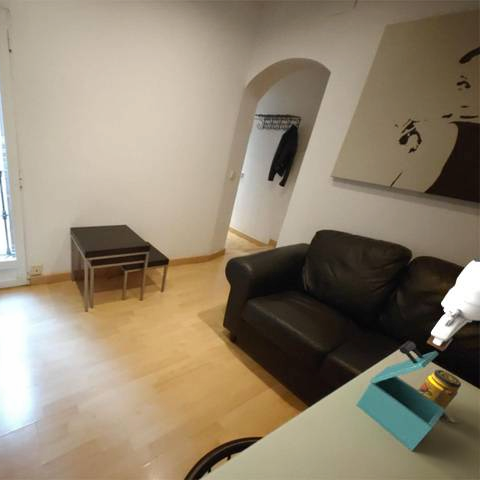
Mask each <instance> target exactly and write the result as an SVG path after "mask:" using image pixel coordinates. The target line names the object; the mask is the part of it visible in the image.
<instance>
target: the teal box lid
mask: <svg viewBox="0 0 480 480" xmlns="http://www.w3.org/2000/svg"><path fill="white" fill-rule="evenodd" d="M398 350H399V352H400V353H401V354H403V355H406V356H407V357H408V359H407V360H405V361H402V362H398V363H396V364H393V365H389V366H387V367H385V368H384V369H382V371H380V372H379V373H378V374H377V375H375V376H374V377H372V378H371V379H370V383H376V382H379V381H382V380H386V379H389V378H392V377H395V376H397V377H399V376H402V375H405V374H409V373H412V372H415V371H418V370H421V369H424V368H425V367H427V366H428V365H429V364H430V363H431V362H432V361H433V360H434V359H435V358H436V357H437V356H438V355H439V352H437V350H434V351H431V352H428V353H426V354H423V355H422V353H421V352H420V351H419V350H418V349H417V348H416V343H414V342H413V341H411V340H408V341H406V342H404V343H403V344H402V345H401V346H400V347H398ZM411 351H412V352H413V353H414V354H415V355H416V356H417V357H414V356H413V354H412V353H411Z"/></svg>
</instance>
